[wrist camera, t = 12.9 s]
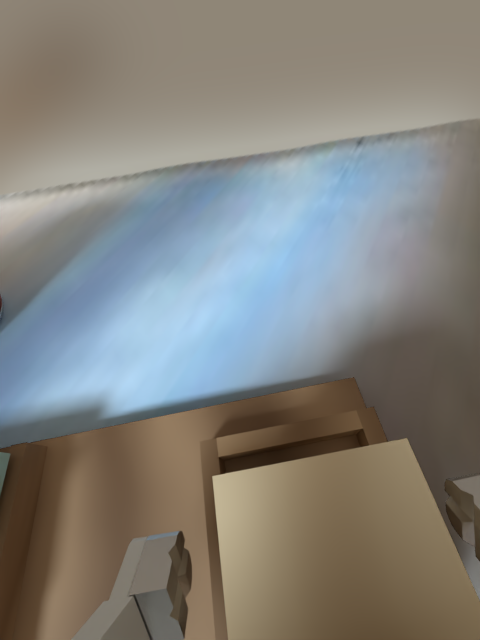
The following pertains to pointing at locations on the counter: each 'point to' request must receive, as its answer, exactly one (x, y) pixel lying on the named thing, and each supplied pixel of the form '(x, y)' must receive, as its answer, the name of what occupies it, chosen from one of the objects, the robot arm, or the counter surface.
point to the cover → (3, 467)
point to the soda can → (1, 306)
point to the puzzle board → (148, 500)
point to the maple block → (340, 551)
